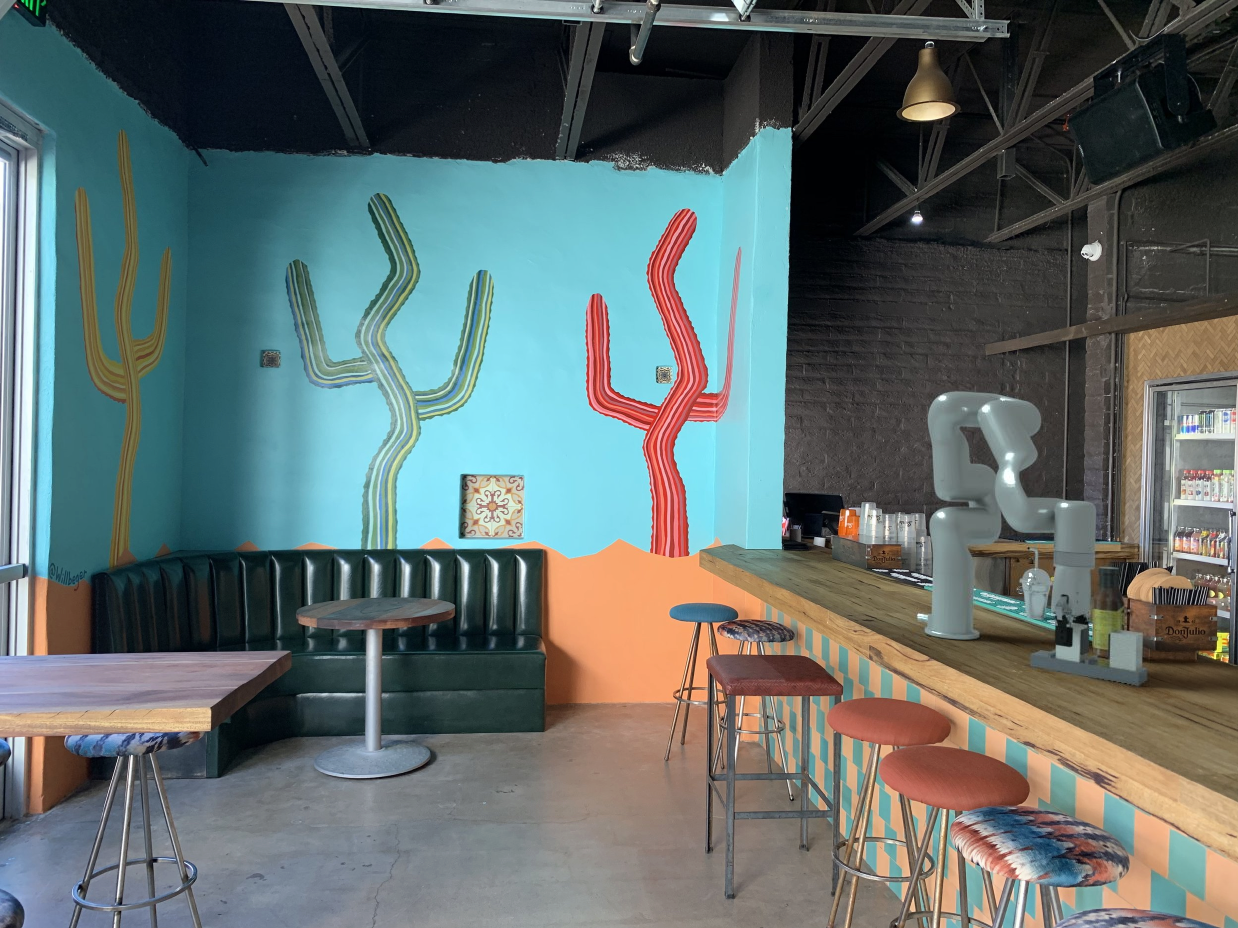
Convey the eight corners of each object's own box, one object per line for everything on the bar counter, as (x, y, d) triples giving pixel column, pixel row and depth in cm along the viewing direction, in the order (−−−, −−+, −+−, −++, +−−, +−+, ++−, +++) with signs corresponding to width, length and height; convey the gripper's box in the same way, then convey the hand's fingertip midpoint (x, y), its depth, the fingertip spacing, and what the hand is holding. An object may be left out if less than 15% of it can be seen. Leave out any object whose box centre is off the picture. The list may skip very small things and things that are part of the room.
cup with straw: (1059, 620, 229) (1061, 547, 229) (1031, 621, 227) (1033, 547, 227) (1037, 614, 238) (1039, 544, 237) (1009, 615, 235) (1011, 544, 235)
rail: (1030, 666, 177) (1031, 621, 177) (1040, 661, 181) (1041, 617, 181) (1138, 686, 163) (1139, 637, 163) (1146, 680, 167) (1148, 633, 167)
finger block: (1055, 657, 174) (1056, 624, 174) (1063, 654, 177) (1064, 621, 177) (1081, 662, 171) (1082, 628, 171) (1089, 659, 174) (1090, 625, 174)
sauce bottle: (1128, 660, 184) (1131, 570, 184) (1097, 658, 185) (1100, 568, 185) (1117, 653, 191) (1119, 566, 190) (1087, 651, 192) (1089, 565, 192)
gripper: (1068, 555, 183) (1066, 633, 183) (1039, 561, 170) (1037, 645, 171) (1107, 559, 177) (1104, 639, 177) (1079, 565, 165) (1077, 651, 165)
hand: (1071, 642), depth 174 cm, fingers open, 9 cm apart
